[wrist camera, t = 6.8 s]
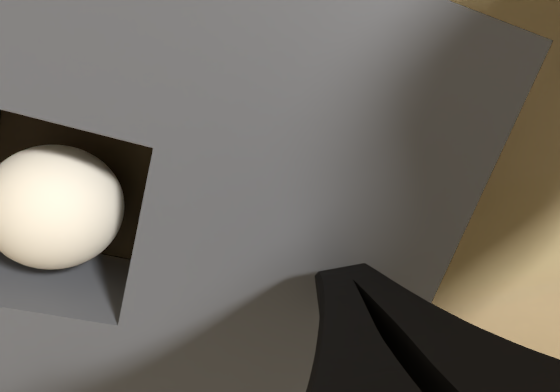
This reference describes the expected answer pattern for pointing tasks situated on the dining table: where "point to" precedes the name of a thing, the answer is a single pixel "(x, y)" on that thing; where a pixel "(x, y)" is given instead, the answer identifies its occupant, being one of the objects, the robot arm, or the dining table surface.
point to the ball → (57, 206)
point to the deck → (251, 174)
